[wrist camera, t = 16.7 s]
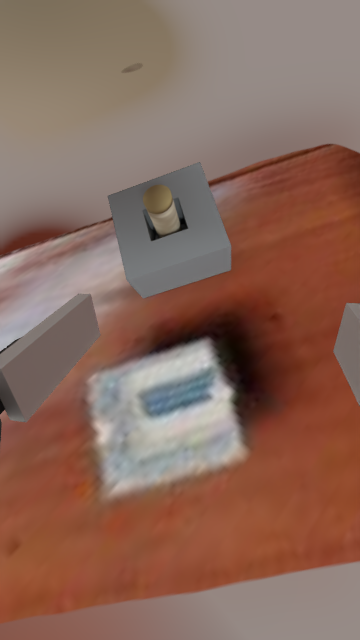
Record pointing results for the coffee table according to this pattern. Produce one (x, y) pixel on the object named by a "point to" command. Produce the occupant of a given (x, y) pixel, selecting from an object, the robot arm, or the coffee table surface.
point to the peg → (162, 210)
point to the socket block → (176, 249)
